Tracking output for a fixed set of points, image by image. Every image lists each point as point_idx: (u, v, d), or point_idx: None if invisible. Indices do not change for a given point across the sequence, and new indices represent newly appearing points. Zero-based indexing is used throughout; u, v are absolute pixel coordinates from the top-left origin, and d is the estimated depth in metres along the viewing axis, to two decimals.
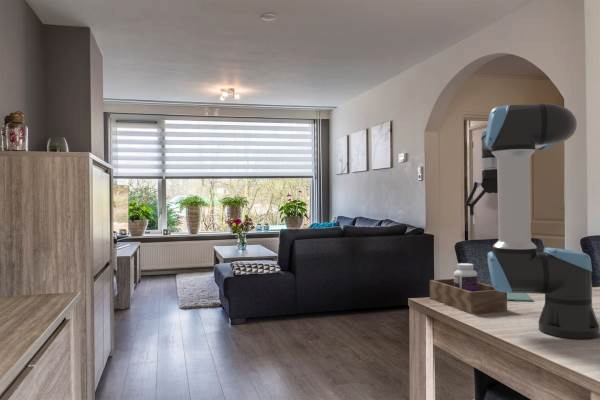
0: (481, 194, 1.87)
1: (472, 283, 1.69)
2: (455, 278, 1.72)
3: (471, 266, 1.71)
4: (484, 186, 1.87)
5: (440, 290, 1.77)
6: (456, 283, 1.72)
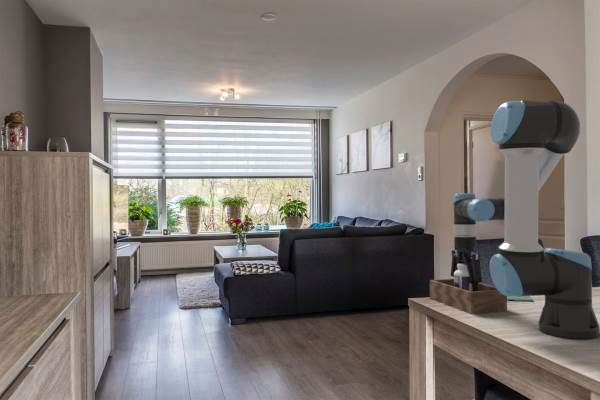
0: None
1: None
2: (455, 278, 1.72)
3: None
4: (458, 253, 1.76)
5: (440, 290, 1.77)
6: (456, 283, 1.72)
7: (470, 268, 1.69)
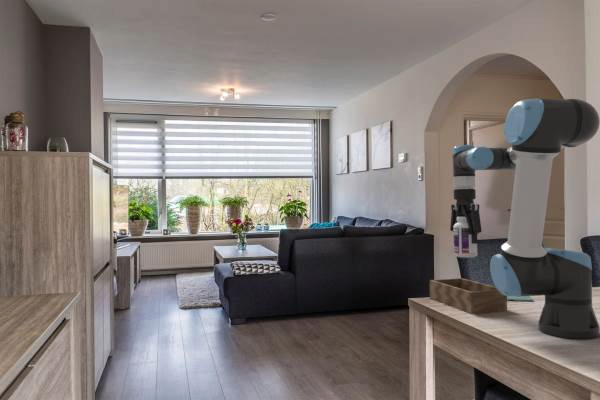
0: None
1: None
2: (455, 230, 1.72)
3: None
4: None
5: (440, 290, 1.77)
6: (456, 235, 1.72)
7: (469, 219, 1.69)
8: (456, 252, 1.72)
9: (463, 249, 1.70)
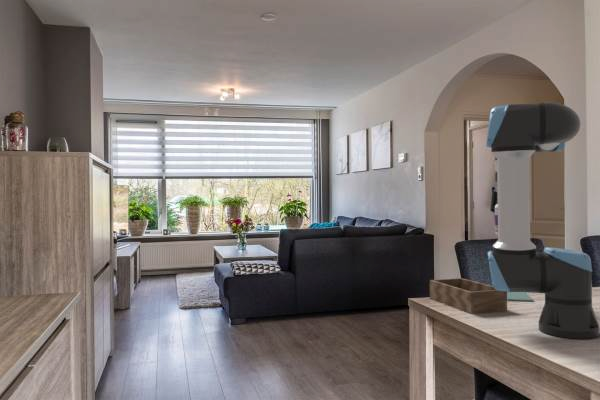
0: (498, 198, 1.87)
1: None
2: (496, 211, 1.83)
3: None
4: None
5: (440, 290, 1.77)
6: (497, 215, 1.83)
7: None
8: None
9: None
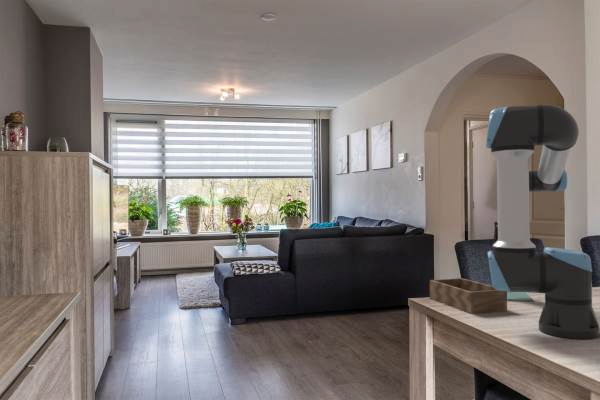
0: None
1: None
2: None
3: None
4: None
5: (440, 290, 1.77)
6: None
7: None
8: None
9: None
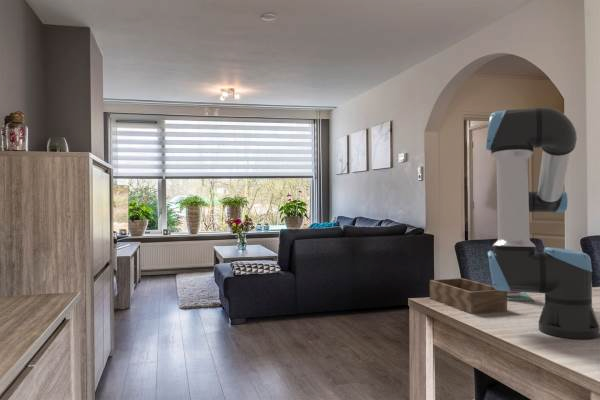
0: None
1: None
2: None
3: None
4: None
5: (440, 290, 1.77)
6: None
7: None
8: None
9: None
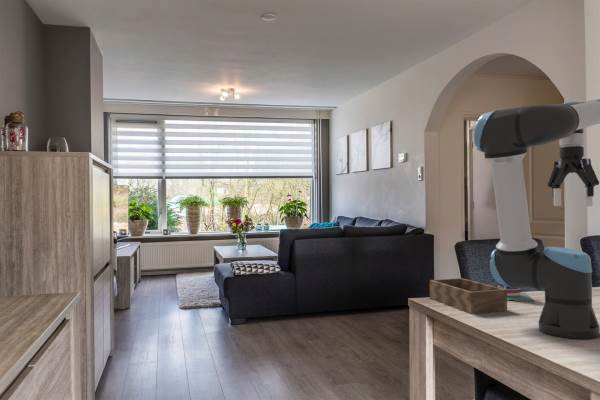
0: (559, 174, 1.75)
1: None
2: None
3: None
4: None
5: (440, 290, 1.77)
6: None
7: (582, 174, 1.66)
8: None
9: (507, 289, 1.81)
